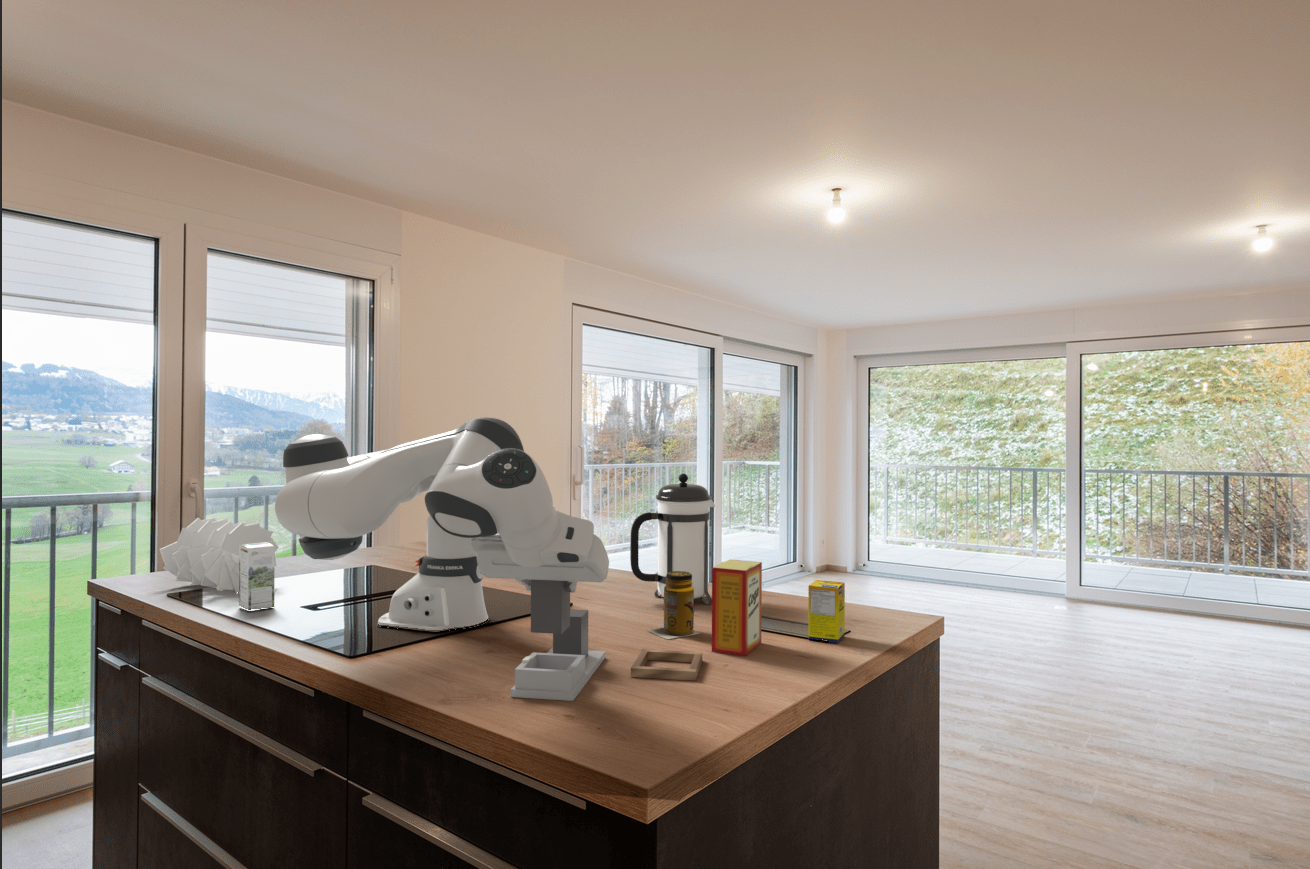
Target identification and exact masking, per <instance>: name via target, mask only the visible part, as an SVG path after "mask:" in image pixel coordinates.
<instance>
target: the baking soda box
mask: <svg viewBox="0 0 1310 869" xmlns="http://www.w3.org/2000/svg"><path fill="white" fill-rule="evenodd" d="M762 574H763V562H762V561H752V560H751V561H750V560H739V559H728V560H726V561H722V562H720V563H718V564H716V565H715V566H713V567H711V598H712V602H711V653H712V652H713V653H718V654H725V655H732V656H733V655H734V656H740V657H747V656H748V655H749V654H751V652H752V651H754V650H755V649H756V648H757V647H758V646H760V645H761V644H762V597H763V595H762V588H763V587H762V582H763V581H762V580H763V578H762V577H763V575H762Z"/></svg>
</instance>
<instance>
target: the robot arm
mask: <svg viewBox="0 0 1310 869" xmlns="http://www.w3.org/2000/svg"><path fill="white" fill-rule="evenodd" d="M282 454H283V458H282V466H283V468H285V482H286V483H285V485H283V486H282V488H280V490H279V491H278V493H277V496H276V498H275V502H274V511H275V516H276V519H277V521H278V523H279V524H280V525H281V527H283V529H285V530H286V531H287V532H290V533H292V534H294V535H298V536H299V538H298V543H299V545H300V547H301V549H302V551H303V552H304V555H306V556H308V557H309V558H311V559H313V560H323V561H334V560H338V559H341V558H344V557H346V556H347V555H350V554H351V553H352V552H355V551H357V550H358V548H359V547H360V545H361V544H362V543H363V537H364V536H365V535H368V534H370V533H372V532H374V531H376V530H377V529H379V528H380V527H381V526H383V525H384V523H385V522H386V521H388V519H389V518H390V516H392V514H393V513H394V512H395V510H396V509H397V508H398V506H399V505H401V504H405V503H408V502H409V503H410V502H412V501H413V500H415V498H416V497H418V496H420V495H423V494H424V493H426V494H425V495H424V505H425V508H426V510H427V512H428V517H427V518H426V554H424V555H423V556H421V557H420V558H419V559H417V560H415V561H414V563H415V564H414V567H418V573H416V574H415V575H414V576H412V578H410V579H409V580H408V581H406V582H405V583H404V584H403V585H401V586H400V587H399V588H398V589H396V590H395V592H394V593H393V594H392V595H391V599H390V604H389V610H388V612H386V613H384V614H383V615H381V616H380V617H379V618H378V620H377V625H378V624H379V625H389V626H399V627H408V628H418V629H425V630H443V629H448V628H454V627H464V626H471V625H475V624H479V623H481V622H484V621H486V620H487V619H488V618H489V615H488V612H487V608H486V604H485V597H484V592H483V591H484V590H483V582H482V581H483V576H484V577H485V578H488V579H507V580H515V581H516V582H518V583H519V584H521V585H523V587H525V589H526V591H528V592H529V591H530V592H531V580H554V581H565V582H566V583H565V585H564V589H565V591H566V592H570V594H571V593H576V591H577V584H578V583H579V582H581V583H582V582H583V583H584V582H585V583H602V582H604V581H605V580H606V579H607V577H608V573H609V569H610V568H609V567H610V559H609V555H608V553H607V550H606V547H605V545H604V543H603V541H602V539H600V537H599V536H598V535H596V534H594V532H595V531H594V530H595V529H594V528H595V526H594V523H593V522H592V521H591V520H589V519H586V518H581V517H576V516H572V515H569V514H566V513H564V512H561V511H559V510H556V508H555V507H554V503H553V502H554V500H553V496H552V493H551V490H550V487H549V484H548V481H547V479H546V476H545V474H544V473H543V471H542V469H541V467H540V466H539V464H538V463H537V461H535V459H534V458H533V457H532V456H531V455H530V454H529V453H527V452H526V451H525V449H524V445H523V443H522V440H521V438H520V435H519V434H518V433H517V431H516V430H515V429H514V427H512V426H511V424H509V423H508V422H506V421H504V420H502V419H500V418H495V417H478V418H472V419H469V420H467V421H466V422H465V423H463V424H462V425H461V426H459V427H458V428H455V429H453V430H450V431H447V432H442V433H439V434H435V435H431V436H427V437H424V438H420V439H416V440H412V441H409V442H405V443H402V444H398V445H395V446H394V447H391V448H387V449H383V450H378V451H373V452H368V453H363V454H359V455H352V456H350V457H349V453H348V450H347V448H346V446H345V444H344V442H343V441H342V440H341V439H339V437H337V436H331V435H328V434H324V433H323V434H322V433H321V434H320V433H314V434H308V435H307V434H306V435H305V436H302V437H300V438H298V439H296V440H294V441H293V442H292V443H291V442H290V443H289V444H288V445H287V446H286V448H285V449H283V453H282ZM488 620H489V619H488Z"/></svg>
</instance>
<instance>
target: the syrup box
mask: <svg viewBox="0 0 1310 869" xmlns="http://www.w3.org/2000/svg"><path fill="white" fill-rule="evenodd" d="M275 552H276V551H275V547H274V546H273V545H272V544H270V543H267V542H263V543H254V544H245V545H239V593H238V607H239V606H241V607H243V608H245V609H248V610H251V609H261V608H270V607H274V608H275V567H274V560H275V559H276V553H275ZM274 557H275V558H274Z"/></svg>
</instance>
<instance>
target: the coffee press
mask: <svg viewBox="0 0 1310 869" xmlns="http://www.w3.org/2000/svg"><path fill="white" fill-rule="evenodd" d="M688 480H689V476H688V475H687V474H686V473H681V474H679V476H678V481H679V482H680V483H674V484H673V483H671V484H666V485H663V486H662V487H660V489H659V490H658V493H657V494H656V495H655V500H656V501H657V510H656V512H651V511H650V512H645V513H642V514H639V515H638V516H637V517H636V518H635V519H634V521H633V523H632V525H631V529H630V539H629V540H630V541H629V542H630V546H629V547H630V549H629V550H630V551H629V552H630V553H629V554H630V558H629V559H630V561H629V562H630V568H631V571H632V573H633V575H634V577H636V578H637V579H638V580H639V581H644V582H649V583H651V582H656V583H657V588H656V590H655V592H654V597H655V598H660V597H664V587H665V586H666V575H667V573H669V572H674V571H684V572H689V573H691V574H692V586H693V588H694V600H695V599H700V600H701V601H702V602H703V603H704V605H710V604H712V596H711V595H710V592H709V552H710V551H709V549H710V548H709V544H710V543H709V541H710V540H709V539H710V538H709V536H710V535H709V534H710V533H709V532H710V531H709V527H710V524H709V522H710V520H711V519H710V517H711V514H710V510H709V509H710V508H715V507H716V505H715V503H714V501H713V500H712V499H711V495H710V494H709V492H708V489H707V488H705V487H704V486H703V485H699V484H694V483H693V484H692V483H687V482H688ZM651 520H657V565H656V566H657V569H656V570H657V571H656V573H644V572H643V571H641V569H640V566H639V564H640V563H639V534H640V533H639V532H640V528H641V526H642V524H644V523H645V522H646V521H651ZM704 596H705V597H706V598H707V599H706V598H705V597H704ZM707 600H708V601H707Z"/></svg>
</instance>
